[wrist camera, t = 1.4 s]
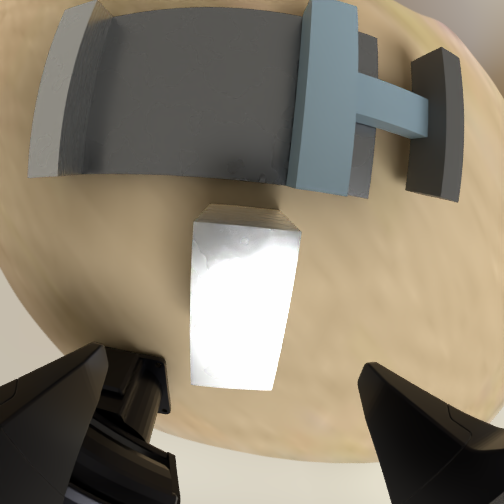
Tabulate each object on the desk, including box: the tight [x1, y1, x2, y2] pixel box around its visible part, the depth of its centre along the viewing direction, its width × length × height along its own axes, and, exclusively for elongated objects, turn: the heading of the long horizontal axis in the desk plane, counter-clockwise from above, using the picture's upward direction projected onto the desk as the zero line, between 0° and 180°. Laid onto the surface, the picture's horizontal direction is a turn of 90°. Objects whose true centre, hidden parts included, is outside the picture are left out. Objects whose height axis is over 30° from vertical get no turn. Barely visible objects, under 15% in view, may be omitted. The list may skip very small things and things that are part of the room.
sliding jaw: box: [286, 0, 464, 202], centre depth 11 cm, size 11×9×4 cm
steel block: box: [190, 203, 302, 390], centre depth 14 cm, size 8×4×6 cm, turn 174°
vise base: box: [28, 0, 378, 199], centre depth 12 cm, size 11×20×4 cm, turn 84°
